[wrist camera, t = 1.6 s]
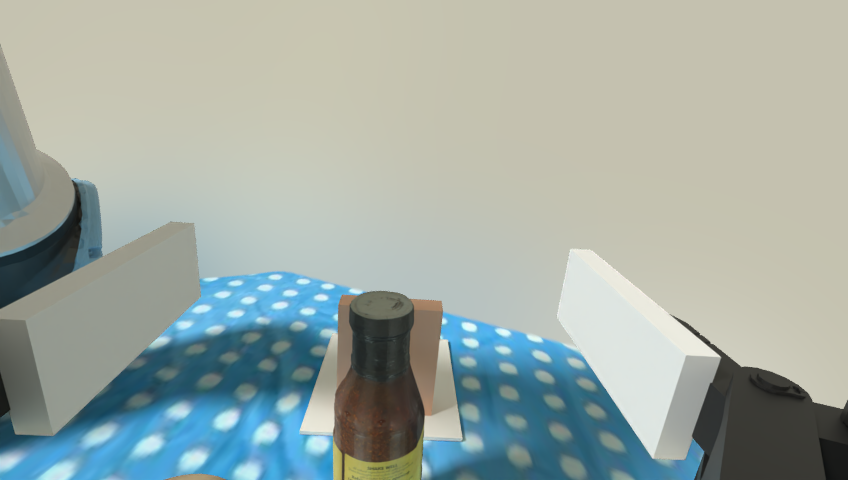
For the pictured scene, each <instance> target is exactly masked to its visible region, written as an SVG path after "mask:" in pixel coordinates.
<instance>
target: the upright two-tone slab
mask: <svg viewBox="0 0 848 480" xmlns="http://www.w3.org/2000/svg"><path fill="white" fill-rule="evenodd" d="M355 297H357V296H355V295H342V296H341V299H340V302H339V305H338V347H337V388H338V386H339V385H340V383H341V382H342V380H343V379H344V378H345V377H346V375H347V373H348V371H349V369H350V366H351V354H352V339H353V338H352V334H353V331H352V329H351V326H350V324H349V309H350V303H351V301H352V300H353V299H354V298H355ZM410 300H411V301H412V303H413V305H414V325H413V327H412V329H411V331H410V348H409V349H410V352H409V354H410V364H411V368H412V371H413V374H414V377H415V380H416V383H417V386H418V389H419V392H420V395H421V399H422V402H423V405H424V410H425V416H431V414H432V405H433V396H434V387H435V378H436V369H437V360H438V351H439V342H440V333H441V324H442V315H443V309H442V302H441V301H434V300H433V301H432V300H417V299H410Z"/></svg>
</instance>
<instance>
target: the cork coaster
mask: <svg viewBox="0 0 848 480" xmlns="http://www.w3.org/2000/svg"><path fill="white" fill-rule="evenodd" d="M165 480H226V479H223V478H220V477H218V476H213V475H207V474H189V475H182V476H177V477H172V478H169V479H165Z"/></svg>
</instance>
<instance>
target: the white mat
mask: <svg viewBox="0 0 848 480" xmlns="http://www.w3.org/2000/svg"><path fill="white" fill-rule="evenodd" d="M337 347H338V333H332V336H331V339H330V342H329V345H328V348H327V351H326V354H325V357H324V360H323V363H322V366H321V369H320V372H319V375H318V378H317V381H316V384H315V387H314V390H313V393H312V396H311V399H310V402H309V405H308V408H307V411H306V414H305V417H304V420H303V423H302V426H301V429H300V434H306V435H328V436H333V429H334V425H335V424H334V422H335V420H334V402H335V392H336V390H337ZM423 440H438V441H460V442H462V432H461V425H460V419H459V412H458V405H457V399H456V392H455V385H454V379H453V372H452V365H451V359H450V352H449V346H448V340H442V339H440V342H439V351H438V360H437V369H436V378H435V387H434V396H433V405H432V414H431V416H425V422H424V437H423Z"/></svg>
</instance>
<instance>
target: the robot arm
mask: <svg viewBox="0 0 848 480" xmlns="http://www.w3.org/2000/svg"><path fill="white" fill-rule="evenodd" d="M100 216H101V215H100V206H99V197H98V192H97V189H96V187H95V185H94V184H92V183H91V182H89V181H83V180H79V179H76V178H75V179H71V178H70V177H69V175H68V173H67V171H66V170H65V169H64V168H63V167H62V165H61V164H59V163H58V162H57V161H56V160H54V159H53V158H51V157H50V156H48V155H47V154H45V153H43V152H41V151H39V150H37V149H36V147H35V144H34V141H33V138H32V135H31V132H30V129H29V126H28V123H27V121H26V118H25V115H24V112H23V109H22V106H21V103H20V100H19V97H18V94H17V92H16V89H15V86H14V83H13V80H12V77H11V74H10V71H9V68H8V65H7V62H6V60H5V57H4V54H3V51H2V48H1V45H0V417H2V416H3V415H4V414H5V413H7V412H8V411H9V414H10V417H11V421H12V424H13V428H14V432H15V435H40V436H54V435H55V434H56V433H57V432H58V431H59V430H60V429H61V428H62V427H64V426H65V425H66V424H67V423H68V422H69V421H70V420H71V419H72V418H73V417H74V416H75V415H76V414H77V413H78V412H79V411H80V410H81V409H83V408H84V407H85V406H86V405H87V404H88V403H89V402H90V401H91V400H92V399H93V398H94V397H95V396H96V395H97V394H98V393H99V392H101V391H102V390H103V389H104V388H105V387H106V386H107V385H108V384H109V383H110V382H111V381H112V380H113V379H114V378H115V377H116V376H117V375H119V374H120V373H121V372H122V371H123V370H124V369H125V368H126V367H127V366H128V365H129V364H130V363H131V362H132V361H133V360H134V359H135V358H137V357H138V356H139V355H140V354H141V353H142V352H143V351H144V350H145V349H146V348H147V347H148V346H149V345H150V344H151V343H152V342H153V341H155V340H156V339H157V338H158V337H159V336H160V335H161V334H162V333H163V332H164V331H165V330H166V329H167V328H168V327H169V326H170V325H171V324H172V323H174V322H175V321H176V320H177V319H178V318H179V317H180V316H181V315H182V314H183V313H184V312H185V311H186V310H187V309H188V308H189V307H190V306H192V305H193V304H194V303H195V302H196V301H197V300H198V299H199V298H200V297H201V292H200V281H199V271H198V260H197V249H196V238H195V228H194V223H180V222H170V223H168V224H166V225H164V226H162V227H160V228H158V229H156V230H154V231H152V232H150V233H148V234H146V235H144V236H142V237H140V238H138V239H137V240H134V241H132V242H131V243H129V244H127V245H125V246H123V247H121V248H119V249H117V250H115V251H113V252H111V253H109V254H107V255H105V256H102V251H101V249H102V229H101V217H100ZM557 318H558V320H559V321H560V323H561V324H562V326H563V327H564V328H565V330H566V331H567V333H568V334H569V336H570V337H571V339H572V340H573V342H574V343H575V345H576V346H577V348H578V349H579V351H580V352H581V354H582V355H583V357H584V358H585V360H586V361H587V362H588V364H589V365H590V367H591V368H592V370H593V371H594V373H595V374H596V376H597V377H598V379H599V380H600V382H601V383H602V385H603V386H604V387H605V389H606V390H607V392H608V393H609V395H610V396H611V398H612V399H613V401H614V402H615V404H616V405H617V407H618V408H619V410H620V411H621V413H622V414H623V415H624V417H625V418H626V420H627V421H628V423H629V424H630V426H631V427H632V429H633V430H634V432H635V433H636V435H637V436H638V438H639V439H640V441H641V442H642V443H643V445H644V446H645V448H646V449H647V451H648V452H649V454H650V455H651V457H652V458H653V459H670V460H685V459H686V456H687V453H688V450H689V447H690V445H691V442H692V439H694V440H695V441H696V442H697V443H698V444H699V446H700V447H701V448H702V449H703V450H704V455H703V457H702V460H701V463H700V466H699V468H698V471H697V474H696V476H695V479H694V480H848V401H847V403H846V405H845V407H844V409H840V408H836V407H831V406H827V405H823V404H818V403H814V402H812V399H811V397H810V396H809V394H808V393H807V392H806V391H805V390H804V389H802V388H801V387H800V386H799V385H797V384H795V383H794V382H792V381H790V380H788V379H787V378H785V377H782V376H780V375H777V374H775V373H773V372H770V371H766V370H762V369H759V368H753V367H741V366H740V365H738V364H737V363H736V362H735V361H733V360H732V359H731V358H730V357H728V356H727V355H726V354H725V353H723V352H722V351H721V350H720V349H718V348H717V347H716V346H715V345H713V344H710V341H708V340H707V339H706V338H705V337H703V336H702V335H700V333H699V332H697V331H696V330H695V329H694V328H692V327H691V326H689V324H687V323H686V322H684V321H682V320H680V319H678V318H676V317H674V316H672V315H670V314H668V313H667V312H666V311H665V310H663V309H662V308H661V307H660V306H659V305H657V304H656V303H655V302H654V301H652V300H651V299H650V298H649V297H648V296H646V295H645V294H644V293H643V292H642V291H640V290H639V289H638V288H637V287H636V286H634V285H633V284H632V283H631V282H629V281H628V280H627V279H626V278H625V277H623V276H622V275H621V274H620V273H619V272H617V271H616V270H615V269H614V268H612V267H611V266H610V265H609V264H608V263H606V262H605V261H604V260H603V259H602V258H600V257H599V256H598V255H596V253H594V252H593V251H592V250H583V249H570V254H569V259H568V264H567V269H566V274H565V278H564V283H563V288H562V294H561V298H560V303H559V308H558V313H557Z"/></svg>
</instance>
